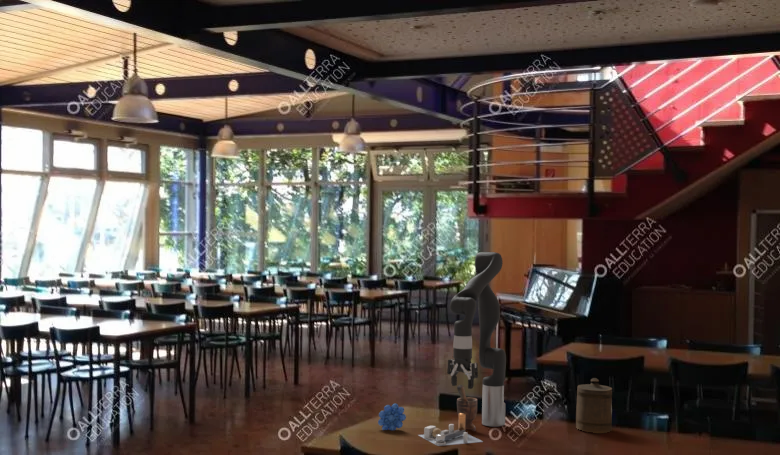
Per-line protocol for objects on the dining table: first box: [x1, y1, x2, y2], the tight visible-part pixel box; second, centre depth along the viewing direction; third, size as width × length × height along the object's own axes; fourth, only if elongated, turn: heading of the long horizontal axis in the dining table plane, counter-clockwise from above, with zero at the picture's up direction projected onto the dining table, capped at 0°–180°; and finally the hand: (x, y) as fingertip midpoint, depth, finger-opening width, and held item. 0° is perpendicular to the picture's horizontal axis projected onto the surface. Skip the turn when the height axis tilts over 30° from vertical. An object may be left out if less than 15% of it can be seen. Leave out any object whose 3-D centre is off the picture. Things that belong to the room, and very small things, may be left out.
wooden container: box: [575, 377, 613, 434], centre depth 339 cm, size 15×15×22 cm
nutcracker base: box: [417, 423, 484, 447], centre depth 313 cm, size 20×18×6 cm
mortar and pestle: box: [456, 384, 478, 432], centre depth 331 cm, size 12×9×20 cm
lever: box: [436, 413, 466, 442], centre depth 311 cm, size 19×4×8 cm, turn 144°
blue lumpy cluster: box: [377, 403, 407, 431], centre depth 327 cm, size 12×7×12 cm, turn 81°
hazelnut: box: [432, 427, 442, 438], centre depth 313 cm, size 4×4×4 cm
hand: (462, 387), depth 318 cm, fingers open, 8 cm apart
